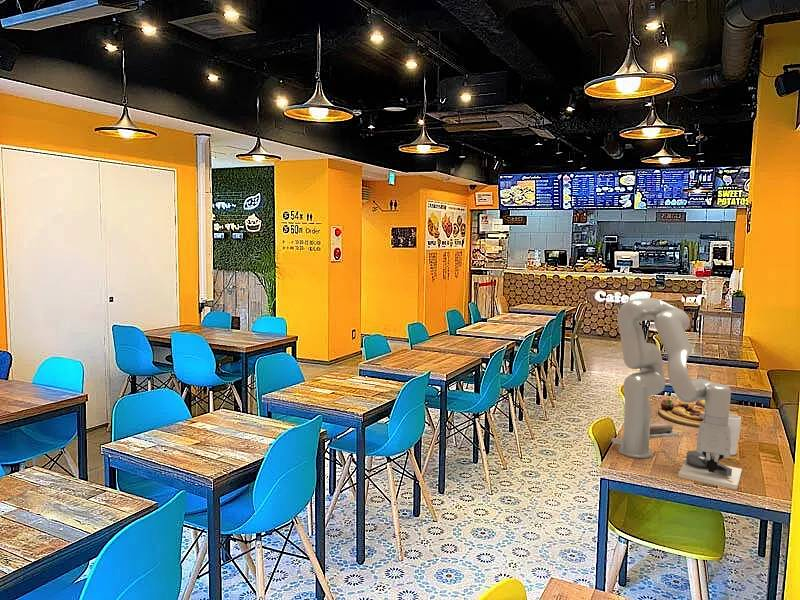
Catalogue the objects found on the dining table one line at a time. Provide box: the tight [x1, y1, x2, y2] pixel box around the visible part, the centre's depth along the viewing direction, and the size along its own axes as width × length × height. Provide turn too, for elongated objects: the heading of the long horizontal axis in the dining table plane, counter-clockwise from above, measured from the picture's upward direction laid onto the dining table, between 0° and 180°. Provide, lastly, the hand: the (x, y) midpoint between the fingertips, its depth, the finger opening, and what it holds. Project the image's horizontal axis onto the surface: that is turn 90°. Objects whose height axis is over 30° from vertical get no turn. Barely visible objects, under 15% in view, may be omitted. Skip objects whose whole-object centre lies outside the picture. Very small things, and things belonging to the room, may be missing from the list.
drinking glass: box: [728, 413, 742, 456], centre depth 235 cm, size 7×7×15 cm
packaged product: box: [649, 422, 679, 439], centre depth 257 cm, size 18×5×10 cm
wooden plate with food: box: [658, 398, 705, 429], centre depth 282 cm, size 32×32×8 cm
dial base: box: [677, 459, 743, 490], centre depth 213 cm, size 18×18×2 cm
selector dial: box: [685, 450, 732, 477], centre depth 214 cm, size 18×9×3 cm, turn 17°
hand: (711, 470), depth 209 cm, fingers closed
